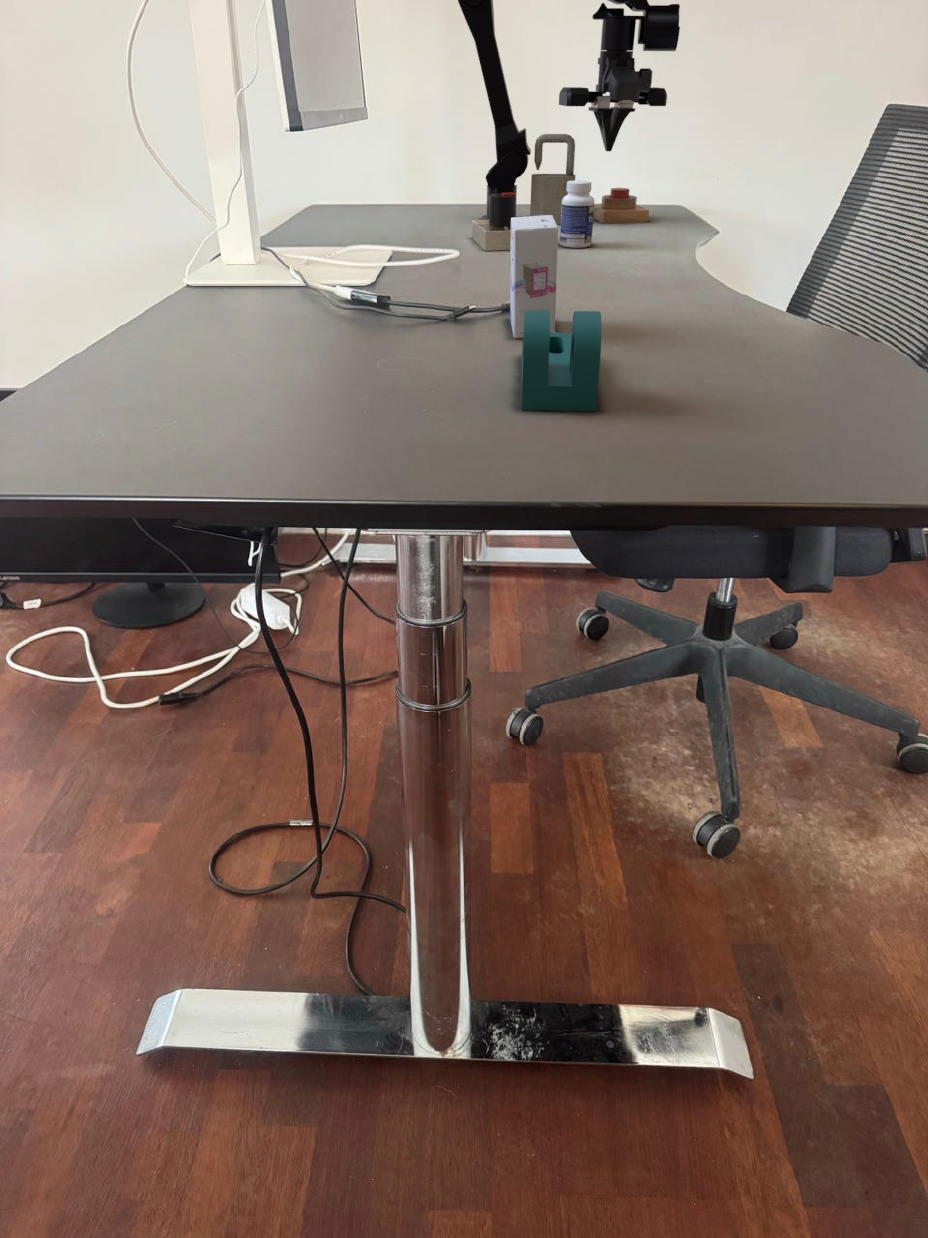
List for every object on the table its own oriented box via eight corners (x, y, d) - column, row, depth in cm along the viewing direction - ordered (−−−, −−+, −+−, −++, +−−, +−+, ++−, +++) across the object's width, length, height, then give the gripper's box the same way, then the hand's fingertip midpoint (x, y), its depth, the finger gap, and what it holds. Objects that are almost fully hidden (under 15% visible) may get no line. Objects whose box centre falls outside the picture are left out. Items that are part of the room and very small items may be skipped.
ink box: (507, 319, 106) (510, 213, 100) (548, 319, 106) (553, 213, 100) (511, 339, 99) (514, 226, 93) (555, 338, 99) (561, 225, 93)
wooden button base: (588, 215, 175) (589, 193, 173) (631, 214, 176) (633, 192, 174) (603, 223, 167) (605, 200, 165) (648, 222, 168) (650, 199, 166)
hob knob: (491, 226, 146) (492, 195, 143) (486, 222, 149) (486, 191, 147) (517, 225, 146) (518, 194, 144) (511, 221, 150) (512, 190, 147)
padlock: (530, 220, 170) (533, 132, 162) (572, 221, 169) (577, 133, 161) (529, 224, 167) (532, 134, 158) (572, 224, 166) (578, 134, 158)
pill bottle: (592, 248, 145) (597, 183, 140) (560, 248, 146) (564, 183, 140) (589, 242, 150) (594, 179, 145) (558, 242, 150) (561, 179, 145)
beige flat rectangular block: (470, 238, 154) (470, 218, 152) (527, 236, 155) (528, 217, 153) (483, 250, 144) (483, 230, 142) (543, 248, 145) (544, 228, 144)
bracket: (595, 410, 79) (603, 322, 75) (521, 409, 79) (524, 321, 75) (584, 353, 94) (589, 277, 90) (521, 352, 94) (524, 276, 90)
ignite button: (607, 197, 171) (608, 187, 170) (625, 197, 171) (626, 187, 170) (613, 200, 168) (614, 190, 167) (631, 199, 168) (632, 189, 167)
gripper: (579, 50, 145) (572, 155, 154) (684, 51, 148) (672, 154, 157) (560, 50, 155) (555, 149, 163) (660, 51, 158) (649, 148, 166)
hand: (608, 150), depth 162 cm, fingers closed
